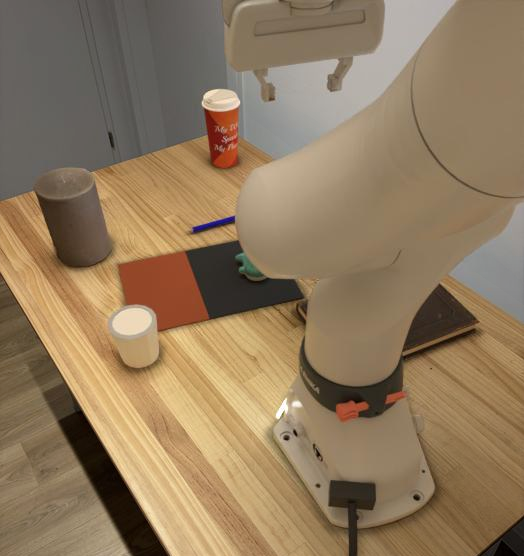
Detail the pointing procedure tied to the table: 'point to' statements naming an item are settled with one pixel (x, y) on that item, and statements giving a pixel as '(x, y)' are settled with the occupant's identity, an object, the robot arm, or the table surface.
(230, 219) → the pencil
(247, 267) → the whale figurine
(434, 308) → the hardcover book
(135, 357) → the jar candle
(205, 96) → the paper cup
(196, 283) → the mat
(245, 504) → the table surface
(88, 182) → the pillar candle
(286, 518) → the table surface
